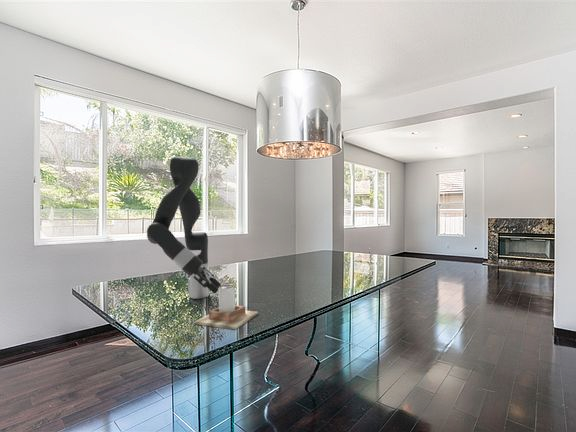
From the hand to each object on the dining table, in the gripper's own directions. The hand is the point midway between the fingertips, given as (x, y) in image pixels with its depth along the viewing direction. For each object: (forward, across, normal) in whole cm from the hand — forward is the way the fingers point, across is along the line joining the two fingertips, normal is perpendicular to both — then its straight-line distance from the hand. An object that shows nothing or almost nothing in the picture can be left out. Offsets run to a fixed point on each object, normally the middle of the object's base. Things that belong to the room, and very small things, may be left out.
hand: (218, 289), depth 122 cm
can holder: (+11, 0, +6) cm, 13 cm away
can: (+10, 0, +6) cm, 12 cm away
